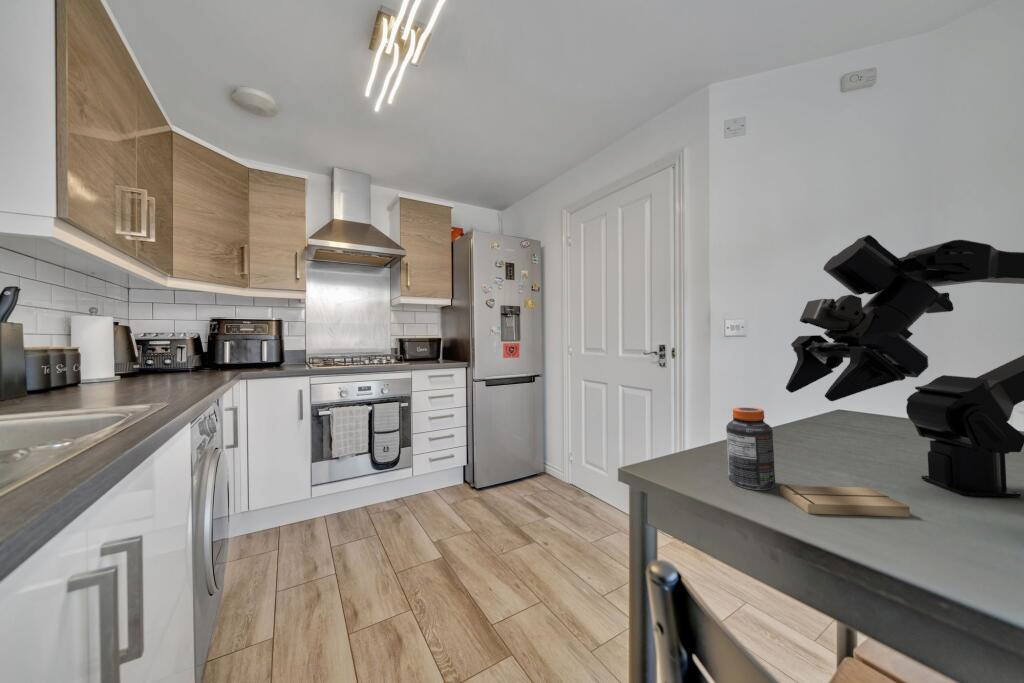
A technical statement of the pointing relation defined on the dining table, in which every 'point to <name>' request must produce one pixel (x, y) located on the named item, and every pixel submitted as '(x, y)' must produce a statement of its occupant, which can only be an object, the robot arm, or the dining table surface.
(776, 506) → the dining table surface
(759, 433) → the pill bottle
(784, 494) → the oak board
